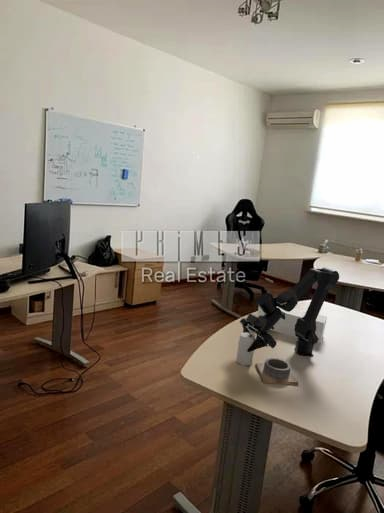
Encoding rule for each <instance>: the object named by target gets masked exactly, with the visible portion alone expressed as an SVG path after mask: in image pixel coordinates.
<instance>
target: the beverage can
mask: <svg viewBox="0 0 384 513" xmlns="http://www.w3.org/2000/svg"><path fill="white" fill-rule="evenodd" d="M238 338H239V339H238V343H239V344H238V346H237V351H236V357H235V358H236V362H237V363H238V364H239V365H241V366H250V365H251V364H252V363H253V360H254V359H253V358H254V352H255V350H253V351H251V352H248V351H247V350H248V348H249V347H250V346H251V345H252V343H253V342H254V341H255V340H256V335H255V334H253V332H251V333H248V332H243V331H242V332H241V333H240V335H239V337H238Z"/></svg>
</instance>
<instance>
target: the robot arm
mask: <svg viewBox="0 0 384 513" xmlns="http://www.w3.org/2000/svg"><path fill="white" fill-rule="evenodd" d="M339 279H340V273H339V272H338V271H337V270H334V269H332V268H328V267H325V266H324V267H322V268H310V269H309V270H308V272H307V273H306V274H305V275H304V276H303V277H302V278H300V279H299V280H298V281H297V282H296V283H295V284H294V285H293V286H292V287H291V288H290V289H288V290H284V291H283V292H281V293H280V294H278V295H277V296H273V294H272V292H269V291H267V292H266V293H263V294H261V295H258V296H257V298H256V301H255V302H256V304H257V305H258V308H259V307H260V308H261V309H262V311H263V312H264V313H265V314H264V315H263V316H262V315H260V316H259V317H257V316H258V315H254V314H252V313H251V312H248V315H247V317H246V318H245V317H244V318H243V317H242V318H241V319H240V321H239V323H240V324H241V326H242V333H243V332H248V333H255V334H256V335H255V339H256V340H255V341H254V342H253V343H252V345H251V346H250V347H249V348H248V350H247V351H248V352H251V351H253V350H254V351H255V350H258V349H261V348H264V347H267V348H268V347H270V348H271V349H275V347H276V346H277V340H275V338H274V337H273V335H271V334H270V333H269V332H270V331H272V330H273V329H274V327H273V326H274V325H275V324H276V323H277V322H278V321H279V320H280V318H282V319H284V320H285V313H284V312H282V311H281V310H280V309H279V308H281V309H283V310H285V311H287V312H290V311H292V310H293V309H295V307H296V306H297V305H298V303H299V299H300V298H301V297H302V296H303V295H304V294H305V293H306V292H307V291H308V290H309V289H311V287H312V286H314V284H315V283H317V286H316V289H315V292H314V294H313V296H312V298H311V300H310V302H309V305H308V307H307V309H306V310H305V311H306V314H305V316H304V317H302V318H301V319H300V318H298V319H297V322H296V324H295V325H294V326H295V328H294V330H295V334H296V337H295V338H297V340H296V341H295V347H294V350H295V351H296V353H297V354H298V355H299V356H303V357H304V356H306V357H314V354H313V350H314V345H315V344H318V343H317V342H318V337H317V336H316V334H315V331H316V319H317V316H318V315H320V312H321V309H322V307H323V305H324V302H325V299H326V298H327V296H328V293H329V291H330V290H331V289H333V288H334V287H336V286H337V283H339V282H338V281H339ZM277 307H279V308H277ZM270 329H272V330H270ZM238 344H239V342H238Z"/></svg>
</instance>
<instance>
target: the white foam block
mask: <svg viewBox="0 0 384 513" xmlns="http://www.w3.org/2000/svg"><path fill="white" fill-rule="evenodd" d="M277 308H279V307H277ZM257 309H258V310H257V315H256V316H257V317H259V316H260V315H262V316H263V315H264V314H265V313H264V312H263V311H262V309H261V308H260V307H259V306H258V308H257ZM279 309H280V310H281V311H282V312H284V313H285V320H284V319H282V318H280V320H279V321H278V322H277V323H276V324H275V325H274V326H273V327H274V329H273V330H272V329H270V330H269V331H273V332H276V333H280V334H284V335H288V336H292V337H295V338H297V337H296V334H295V330H294V328H295V326H294V325H295V324H296V322H297V319H298V318H300V319H301V318H302V317H304V316H305V314H306V311H307V310H303V309H302V310H301V309H297V308H294V309H293V310H292V311H290V312H287V311H285V310H283V309H281V308H279ZM327 319H328V316H326V315H322V314H318V316H317V319H316V331H315V334H316V336H317V337H318V342H317V343H316V344H321V343H322V341H323V339H324V335H325V329H326V324H327Z"/></svg>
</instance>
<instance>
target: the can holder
mask: <svg viewBox="0 0 384 513" xmlns="http://www.w3.org/2000/svg"><path fill="white" fill-rule="evenodd" d="M255 367H256V368H257V371H258V373H259V375H260V377H261V380H262V382H263V383H265V384H277V385H279V384H281V385H282V384H283V385H297V386H298V385H299V380H298V379H297V378H296V376H295V375H294V373H293V372H292V370H291V367H292V365H290V363H289V362H287V360H284V359H283V358H282V359H281V358H279V357H269V358H266V359H265V360H264V362H255Z"/></svg>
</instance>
